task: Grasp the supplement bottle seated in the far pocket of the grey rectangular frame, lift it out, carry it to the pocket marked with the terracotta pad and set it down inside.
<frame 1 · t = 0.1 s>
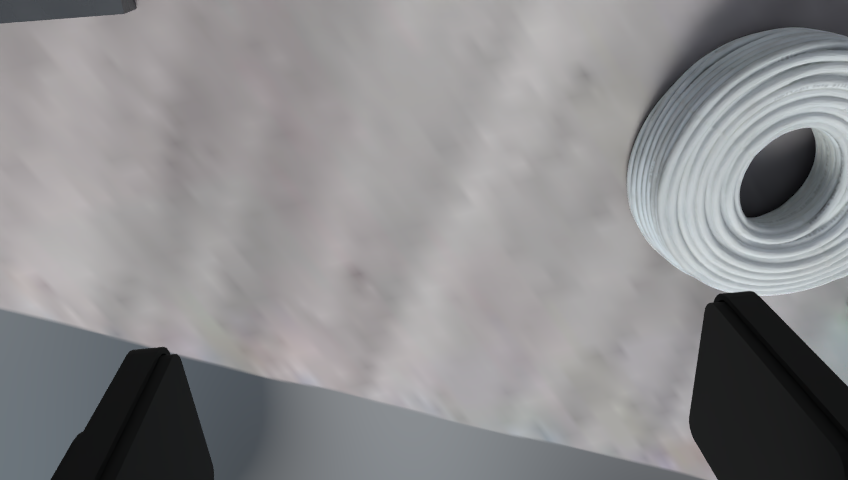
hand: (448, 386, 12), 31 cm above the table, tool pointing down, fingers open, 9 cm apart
cable: (749, 156, 45), on the table
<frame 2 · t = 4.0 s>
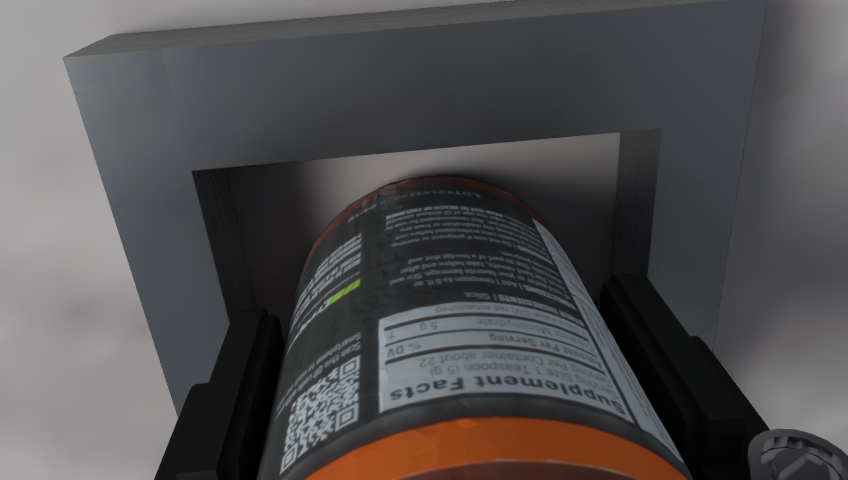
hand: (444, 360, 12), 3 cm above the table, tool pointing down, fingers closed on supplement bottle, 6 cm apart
supplement bottle: (433, 284, 15), resting in grey rectangular frame, touching gripper
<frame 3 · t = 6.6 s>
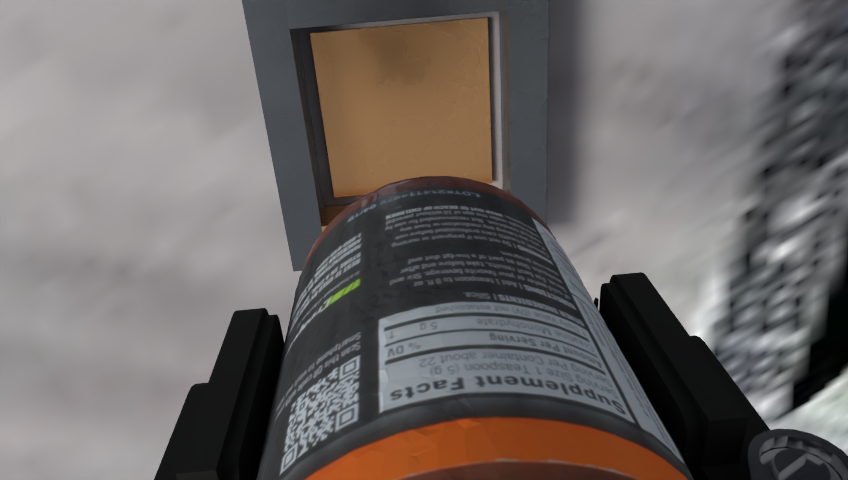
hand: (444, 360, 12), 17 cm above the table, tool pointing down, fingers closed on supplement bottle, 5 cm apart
supplement bottle: (433, 284, 15), point 14 cm above the table, touching gripper
when the fingers open (4 cm above the table, at t = 9.4 s): supplement bottle stays where it is, resting on grey rectangular frame.
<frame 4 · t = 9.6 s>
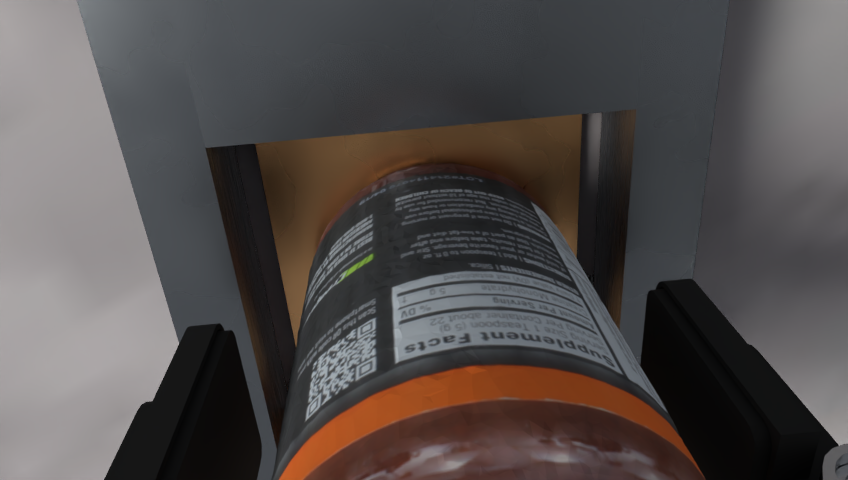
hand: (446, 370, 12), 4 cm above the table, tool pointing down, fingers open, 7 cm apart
supplement bottle: (438, 267, 16), resting on grey rectangular frame
grey rectangular frame: (408, 0, 13), on the table
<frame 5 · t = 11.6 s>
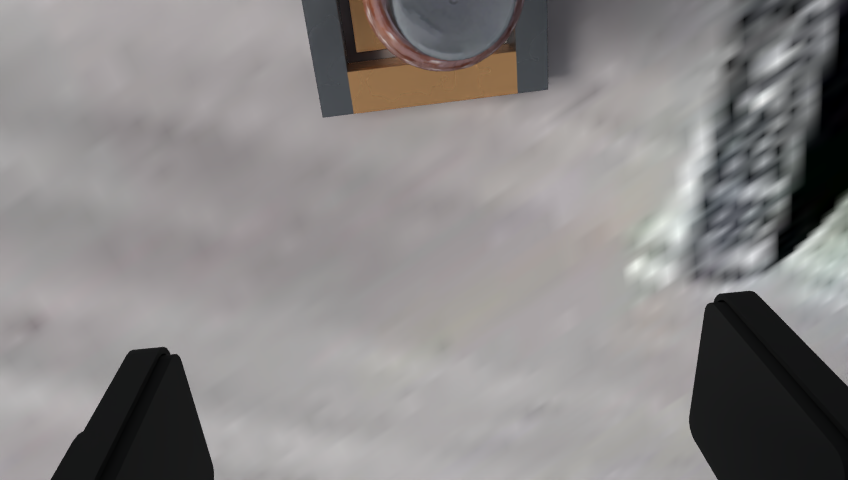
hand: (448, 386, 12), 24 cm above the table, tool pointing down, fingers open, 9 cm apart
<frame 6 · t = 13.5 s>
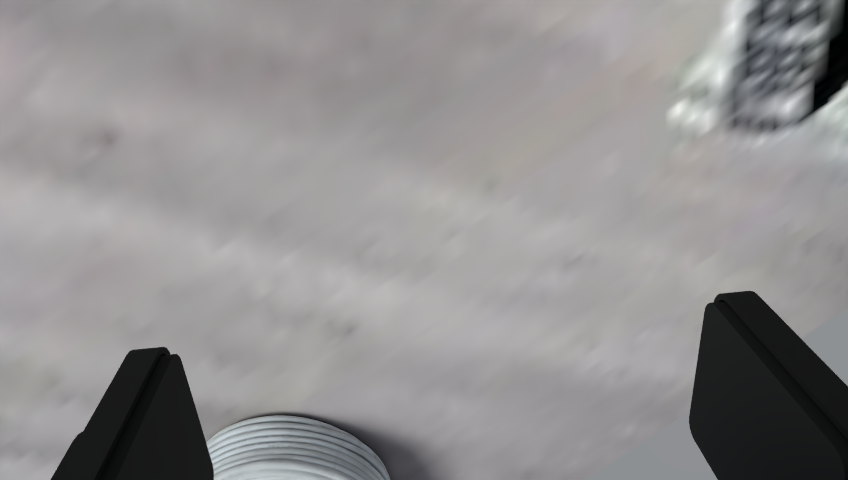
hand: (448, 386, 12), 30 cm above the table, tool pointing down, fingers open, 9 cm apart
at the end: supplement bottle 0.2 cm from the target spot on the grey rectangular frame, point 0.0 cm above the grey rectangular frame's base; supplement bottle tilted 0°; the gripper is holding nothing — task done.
